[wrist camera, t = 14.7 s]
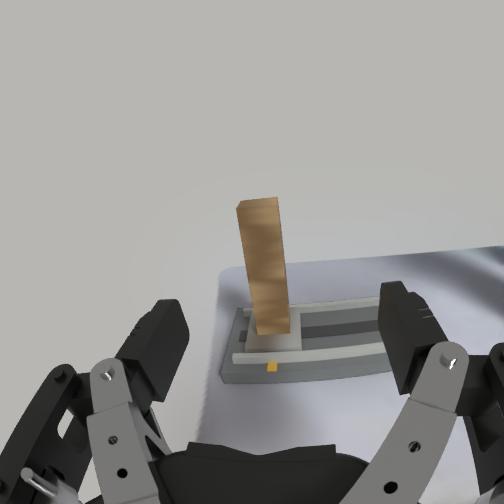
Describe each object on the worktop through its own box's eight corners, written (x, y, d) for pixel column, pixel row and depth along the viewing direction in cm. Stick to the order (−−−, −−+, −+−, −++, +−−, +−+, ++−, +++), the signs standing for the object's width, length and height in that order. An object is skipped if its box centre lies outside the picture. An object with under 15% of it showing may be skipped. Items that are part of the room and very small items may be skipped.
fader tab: (300, 312, 29) (289, 191, 24) (301, 352, 23) (290, 209, 18) (253, 315, 30) (232, 197, 25) (246, 354, 24) (217, 217, 19)
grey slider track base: (412, 302, 29) (415, 285, 28) (444, 359, 20) (451, 341, 19) (239, 318, 33) (236, 302, 32) (224, 383, 23) (218, 366, 23)
